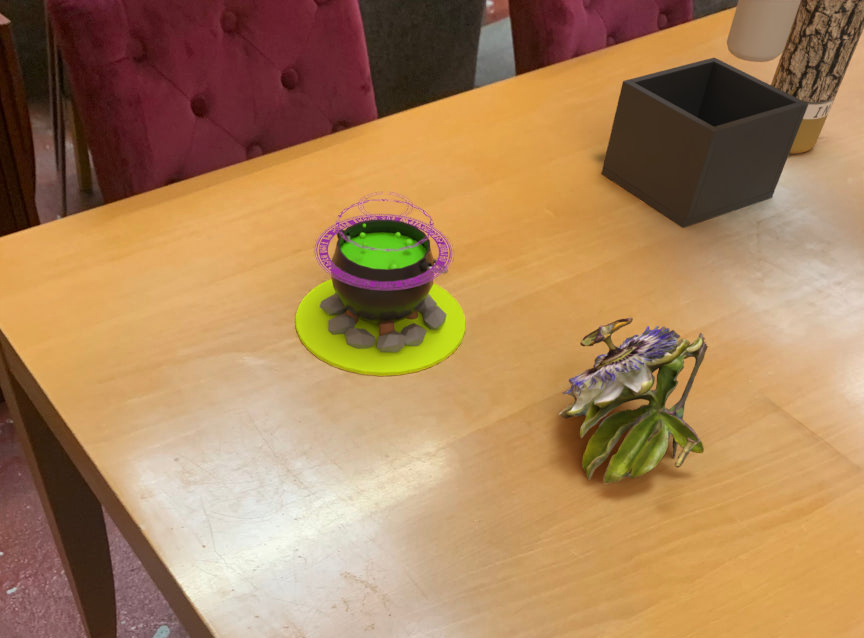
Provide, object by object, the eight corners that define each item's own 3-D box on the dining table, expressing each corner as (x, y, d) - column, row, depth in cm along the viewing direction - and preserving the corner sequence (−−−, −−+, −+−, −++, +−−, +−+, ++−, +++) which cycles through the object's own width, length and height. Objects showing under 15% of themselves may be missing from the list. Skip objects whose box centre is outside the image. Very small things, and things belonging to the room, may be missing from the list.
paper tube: (751, 150, 101) (845, -113, 82) (753, 124, 105) (843, -131, 86) (814, 160, 99) (925, -105, 80) (814, 134, 103) (919, -124, 85)
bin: (687, 147, 101) (714, 57, 94) (772, 197, 94) (809, 103, 86) (601, 173, 97) (622, 80, 89) (683, 227, 89) (714, 131, 82)
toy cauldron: (496, 309, 80) (514, 194, 72) (407, 399, 71) (417, 281, 63) (357, 255, 85) (359, 143, 77) (260, 333, 77) (251, 217, 69)
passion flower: (572, 460, 75) (607, 317, 72) (705, 494, 69) (748, 340, 67) (525, 468, 65) (563, 302, 62) (675, 508, 60) (724, 329, 57)
